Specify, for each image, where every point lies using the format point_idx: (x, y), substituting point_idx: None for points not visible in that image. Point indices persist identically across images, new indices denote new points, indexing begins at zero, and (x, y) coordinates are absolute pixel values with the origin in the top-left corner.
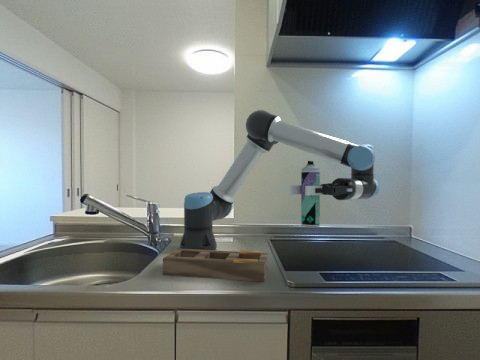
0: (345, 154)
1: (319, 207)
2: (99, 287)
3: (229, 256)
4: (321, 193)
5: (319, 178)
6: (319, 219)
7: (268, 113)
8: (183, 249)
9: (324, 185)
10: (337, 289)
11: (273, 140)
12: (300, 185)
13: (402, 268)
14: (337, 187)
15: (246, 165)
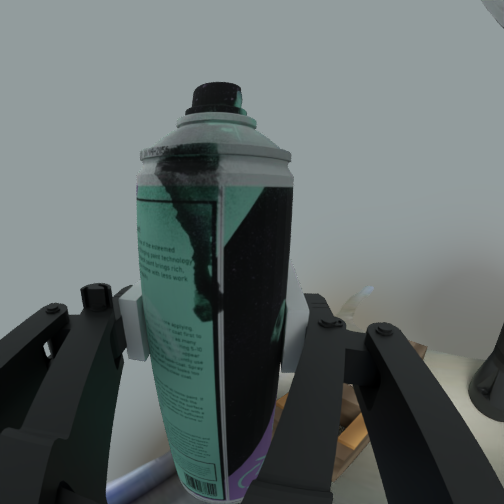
0: None
1: (164, 424)
2: (346, 313)
3: (351, 389)
4: (130, 346)
5: (138, 241)
6: (175, 465)
7: None
8: (421, 350)
9: (100, 295)
10: (123, 493)
11: None
12: (293, 286)
13: None
14: (13, 339)
15: None
